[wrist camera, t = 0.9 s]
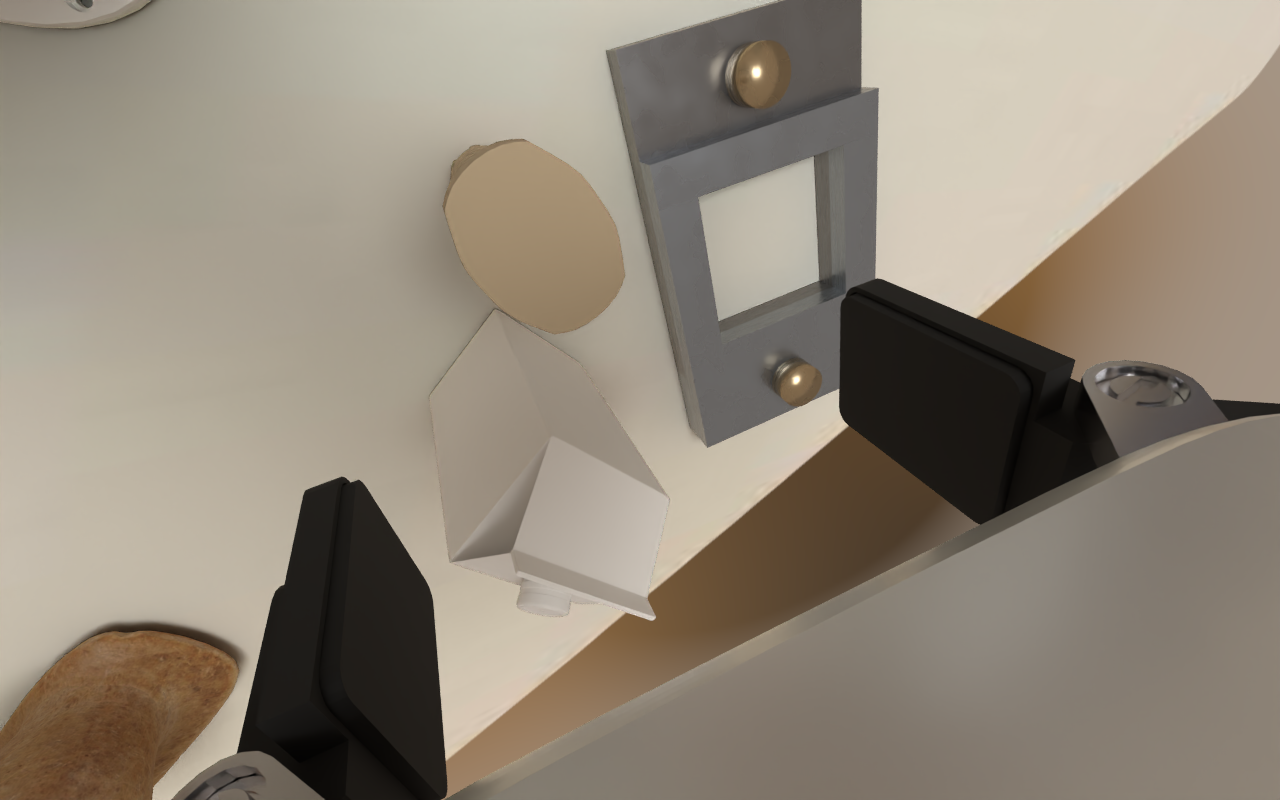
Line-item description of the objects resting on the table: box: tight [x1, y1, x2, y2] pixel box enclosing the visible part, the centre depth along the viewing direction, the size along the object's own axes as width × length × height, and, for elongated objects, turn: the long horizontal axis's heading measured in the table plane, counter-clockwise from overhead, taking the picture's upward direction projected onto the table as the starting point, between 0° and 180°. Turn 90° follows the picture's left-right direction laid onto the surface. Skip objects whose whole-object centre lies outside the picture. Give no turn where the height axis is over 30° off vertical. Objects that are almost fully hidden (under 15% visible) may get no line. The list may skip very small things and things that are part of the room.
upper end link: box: [640, 87, 879, 448], centre depth 38 cm, size 20×15×5 cm
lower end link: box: [606, 0, 861, 378], centre depth 35 cm, size 20×15×3 cm
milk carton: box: [429, 309, 670, 621], centre depth 29 cm, size 7×7×19 cm
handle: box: [443, 139, 625, 334], centre depth 24 cm, size 5×6×15 cm
